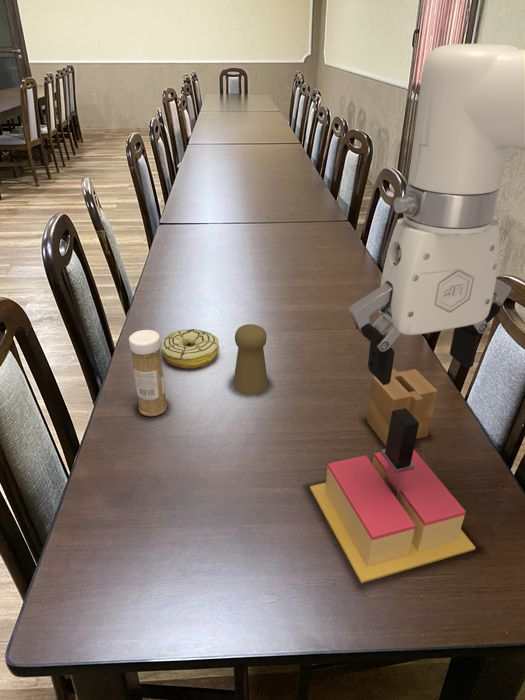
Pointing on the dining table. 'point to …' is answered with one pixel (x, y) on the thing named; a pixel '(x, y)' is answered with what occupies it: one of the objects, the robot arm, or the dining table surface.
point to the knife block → (401, 402)
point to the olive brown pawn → (250, 360)
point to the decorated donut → (189, 348)
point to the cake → (390, 516)
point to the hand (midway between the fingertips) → (420, 369)
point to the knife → (399, 448)
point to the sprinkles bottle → (148, 372)
